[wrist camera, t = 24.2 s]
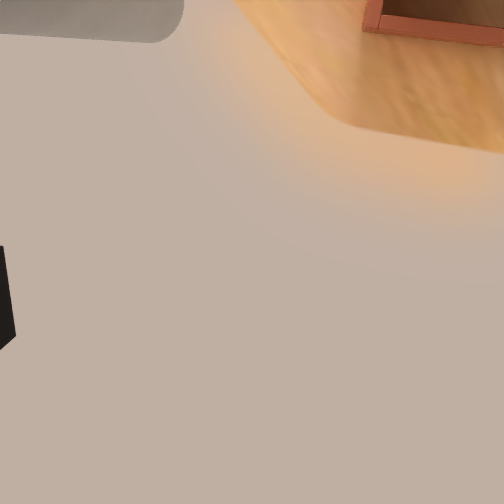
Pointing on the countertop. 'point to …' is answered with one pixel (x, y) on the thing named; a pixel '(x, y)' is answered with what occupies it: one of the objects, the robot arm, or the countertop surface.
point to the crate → (429, 28)
